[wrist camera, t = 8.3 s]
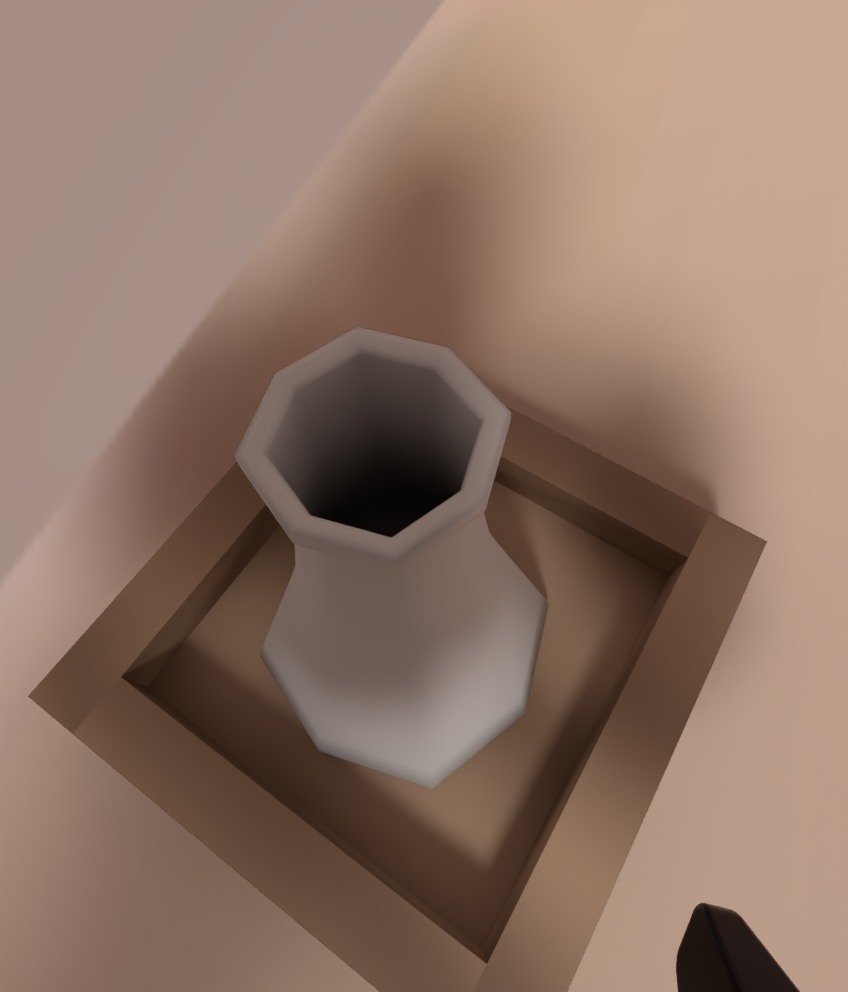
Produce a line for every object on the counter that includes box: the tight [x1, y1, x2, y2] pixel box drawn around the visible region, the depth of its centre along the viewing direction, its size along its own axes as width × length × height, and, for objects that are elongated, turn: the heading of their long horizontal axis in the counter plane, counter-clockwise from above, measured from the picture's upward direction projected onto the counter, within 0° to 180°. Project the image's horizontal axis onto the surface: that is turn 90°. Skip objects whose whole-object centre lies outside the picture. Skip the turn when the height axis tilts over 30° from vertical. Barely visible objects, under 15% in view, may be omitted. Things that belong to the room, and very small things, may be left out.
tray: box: [28, 407, 767, 992], centre depth 16 cm, size 13×13×2 cm
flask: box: [234, 327, 549, 789], centre depth 12 cm, size 7×7×10 cm
